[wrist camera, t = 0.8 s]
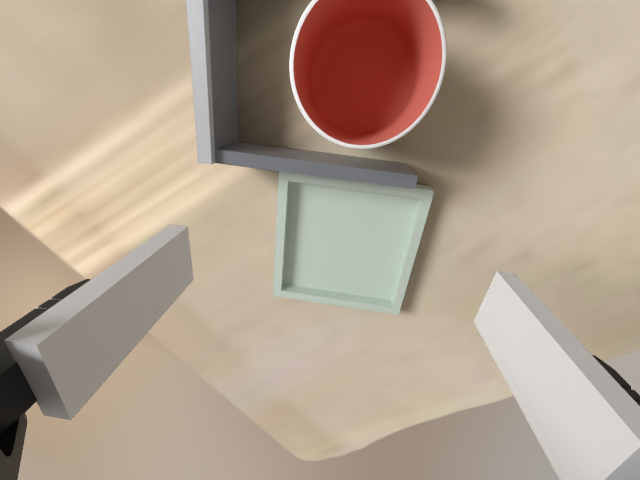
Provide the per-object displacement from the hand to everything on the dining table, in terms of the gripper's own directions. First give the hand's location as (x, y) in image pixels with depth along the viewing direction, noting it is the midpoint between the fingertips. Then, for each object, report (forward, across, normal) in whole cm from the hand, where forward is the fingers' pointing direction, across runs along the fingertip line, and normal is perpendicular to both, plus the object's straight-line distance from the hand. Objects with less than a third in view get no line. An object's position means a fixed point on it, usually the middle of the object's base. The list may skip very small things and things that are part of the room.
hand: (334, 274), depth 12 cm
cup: (+21, 0, +8) cm, 23 cm away
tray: (+21, +1, -8) cm, 22 cm away
